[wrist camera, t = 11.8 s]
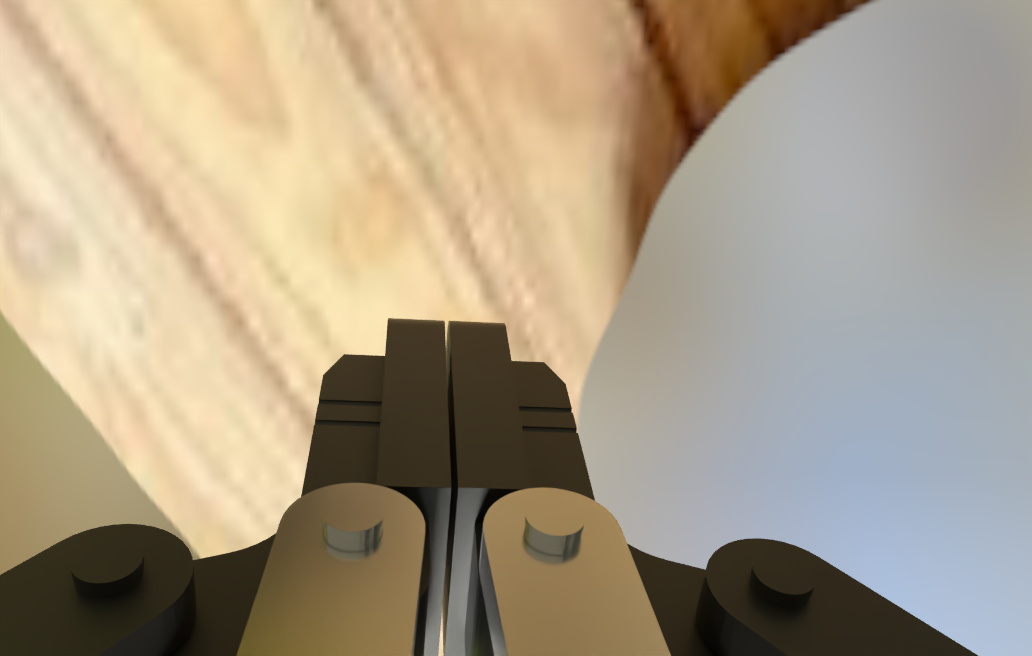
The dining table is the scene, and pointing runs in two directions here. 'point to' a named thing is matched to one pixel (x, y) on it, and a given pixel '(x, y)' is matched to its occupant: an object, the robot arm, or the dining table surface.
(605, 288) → the dining table surface
